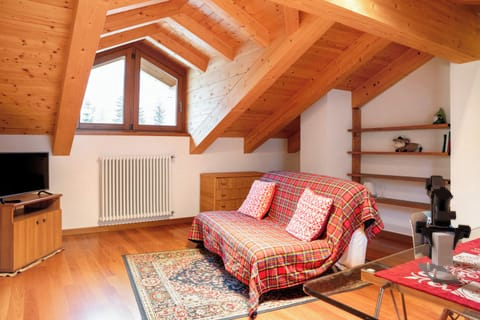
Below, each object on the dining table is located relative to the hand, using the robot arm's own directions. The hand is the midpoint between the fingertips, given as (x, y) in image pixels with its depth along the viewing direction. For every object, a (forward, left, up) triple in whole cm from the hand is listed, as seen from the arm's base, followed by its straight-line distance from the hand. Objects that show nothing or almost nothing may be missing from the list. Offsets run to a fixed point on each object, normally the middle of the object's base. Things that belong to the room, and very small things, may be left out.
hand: (442, 248), depth 130 cm
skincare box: (-1, 0, -7) cm, 7 cm away
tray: (-6, 0, -12) cm, 13 cm away
